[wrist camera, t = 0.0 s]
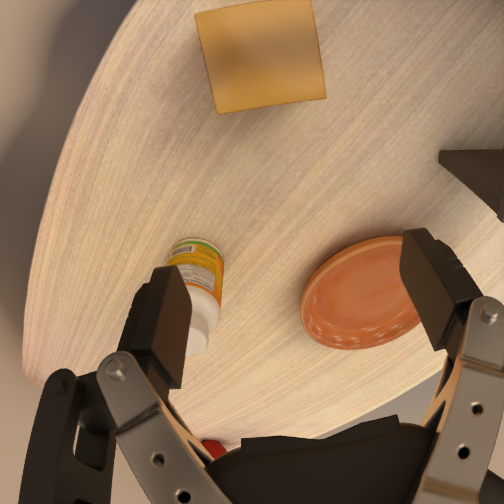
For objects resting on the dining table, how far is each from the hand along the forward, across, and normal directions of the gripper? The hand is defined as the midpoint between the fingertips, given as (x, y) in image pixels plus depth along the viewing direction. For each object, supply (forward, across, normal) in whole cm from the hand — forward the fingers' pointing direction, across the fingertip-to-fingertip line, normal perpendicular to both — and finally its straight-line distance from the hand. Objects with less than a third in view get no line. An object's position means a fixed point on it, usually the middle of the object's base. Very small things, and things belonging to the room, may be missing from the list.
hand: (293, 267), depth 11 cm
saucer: (+15, -8, +17) cm, 25 cm away
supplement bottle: (+15, +8, +10) cm, 20 cm away
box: (+15, 0, -7) cm, 17 cm away
